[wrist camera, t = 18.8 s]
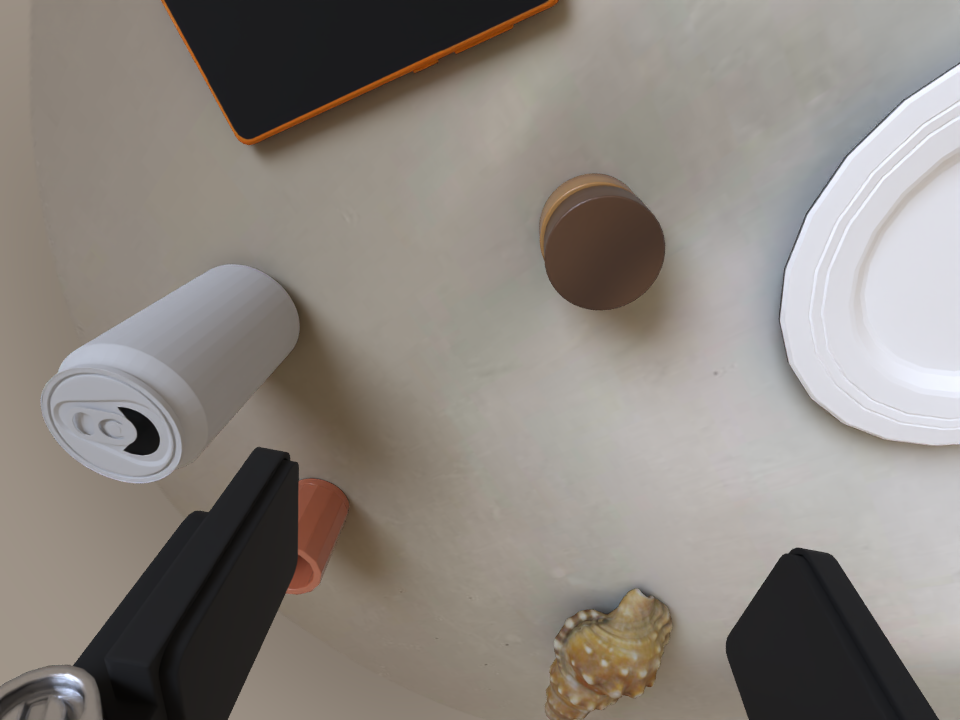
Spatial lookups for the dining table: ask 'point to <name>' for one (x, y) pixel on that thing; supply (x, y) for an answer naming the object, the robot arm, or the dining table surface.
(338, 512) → the cup
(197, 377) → the beverage can
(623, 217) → the walnut chip
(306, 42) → the smartphone
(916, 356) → the plate
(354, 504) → the dining table surface
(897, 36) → the dining table surface
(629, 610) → the seashell
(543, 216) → the oak chip
